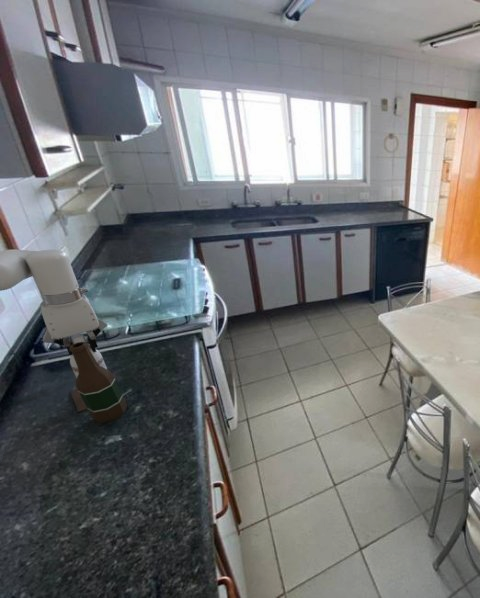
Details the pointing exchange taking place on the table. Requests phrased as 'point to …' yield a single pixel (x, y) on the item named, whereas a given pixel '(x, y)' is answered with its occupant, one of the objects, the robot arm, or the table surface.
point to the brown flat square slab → (79, 400)
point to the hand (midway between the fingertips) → (84, 352)
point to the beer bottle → (97, 386)
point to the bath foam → (96, 354)
